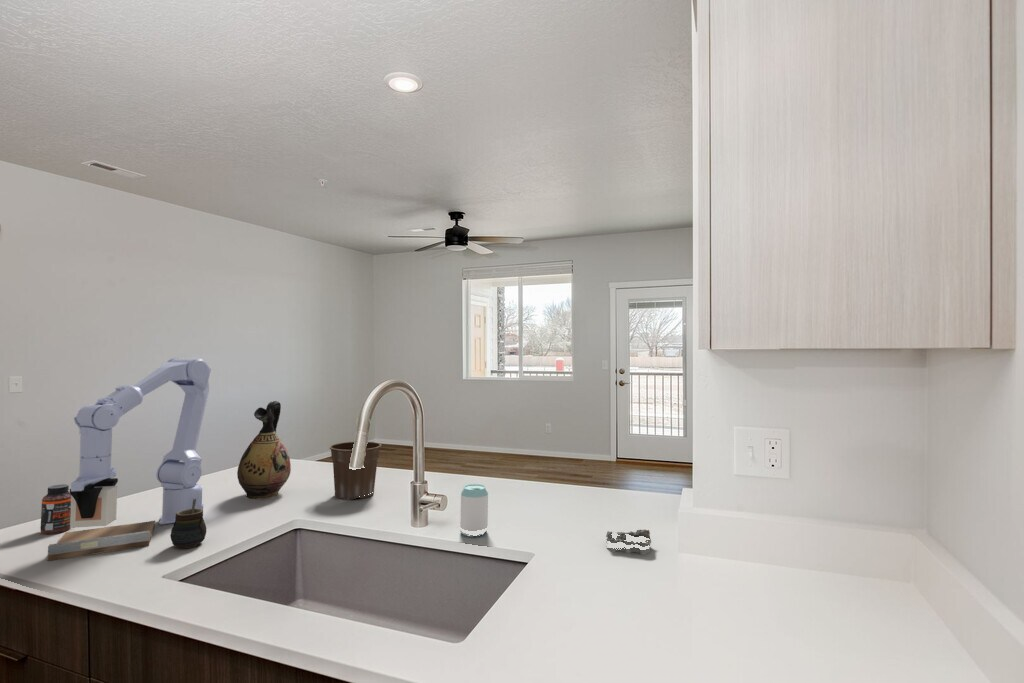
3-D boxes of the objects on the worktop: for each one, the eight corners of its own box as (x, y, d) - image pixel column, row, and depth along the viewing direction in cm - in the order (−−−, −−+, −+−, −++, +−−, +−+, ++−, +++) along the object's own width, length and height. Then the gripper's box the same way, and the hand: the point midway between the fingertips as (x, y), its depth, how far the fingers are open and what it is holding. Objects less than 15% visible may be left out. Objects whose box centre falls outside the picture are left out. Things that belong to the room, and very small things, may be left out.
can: (492, 531, 132) (492, 485, 133) (479, 540, 126) (480, 491, 126) (468, 526, 135) (469, 482, 135) (455, 535, 129) (455, 488, 129)
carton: (81, 521, 119) (83, 487, 119) (116, 519, 121) (117, 485, 121) (70, 527, 114) (71, 492, 115) (105, 525, 116) (106, 490, 116)
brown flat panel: (154, 525, 133) (154, 520, 133) (148, 545, 119) (149, 540, 119) (65, 537, 124) (65, 532, 124) (47, 560, 110) (47, 555, 110)
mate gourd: (167, 553, 115) (169, 509, 115) (172, 542, 122) (173, 500, 122) (204, 548, 118) (205, 505, 119) (207, 537, 125) (208, 497, 125)
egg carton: (651, 546, 124) (651, 529, 124) (650, 558, 117) (650, 540, 117) (607, 540, 127) (608, 524, 128) (604, 551, 120) (604, 534, 120)
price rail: (149, 539, 120) (149, 530, 120) (148, 540, 119) (149, 532, 119) (49, 553, 111) (49, 544, 111) (47, 555, 110) (48, 546, 110)
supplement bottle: (52, 535, 125) (54, 489, 125) (33, 533, 126) (35, 488, 126) (78, 527, 130) (79, 483, 131) (59, 525, 132) (61, 482, 132)
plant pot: (343, 487, 173) (344, 439, 173) (388, 489, 171) (388, 441, 171) (318, 500, 157) (319, 448, 157) (367, 503, 155) (368, 450, 155)
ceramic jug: (276, 502, 154) (278, 404, 155) (226, 501, 155) (229, 403, 155) (300, 487, 171) (302, 399, 172) (255, 487, 172) (257, 398, 172)
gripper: (98, 461, 112) (96, 523, 111) (130, 449, 126) (129, 504, 126) (60, 462, 110) (58, 525, 110) (98, 450, 124) (96, 505, 124)
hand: (93, 514), depth 118 cm, fingers closed on carton, 4 cm apart
